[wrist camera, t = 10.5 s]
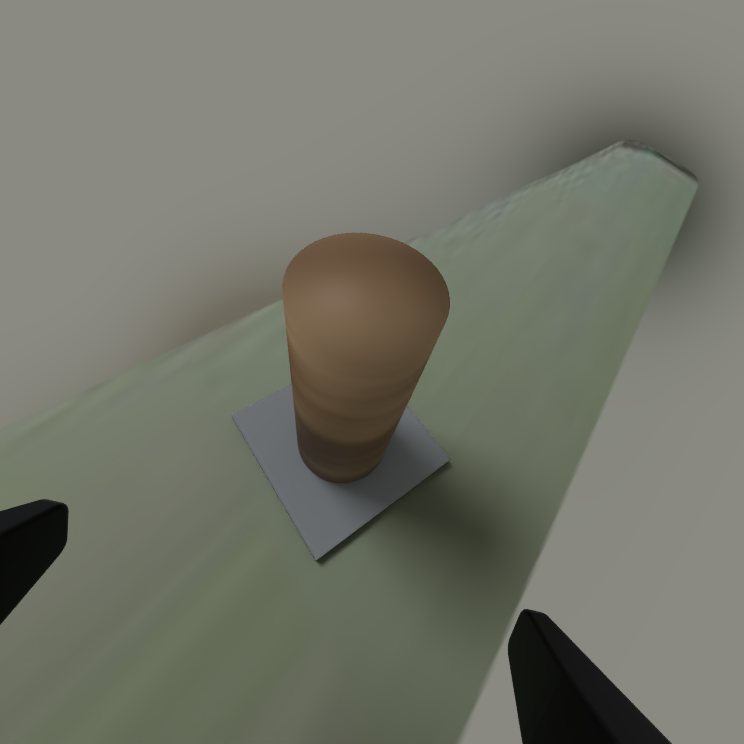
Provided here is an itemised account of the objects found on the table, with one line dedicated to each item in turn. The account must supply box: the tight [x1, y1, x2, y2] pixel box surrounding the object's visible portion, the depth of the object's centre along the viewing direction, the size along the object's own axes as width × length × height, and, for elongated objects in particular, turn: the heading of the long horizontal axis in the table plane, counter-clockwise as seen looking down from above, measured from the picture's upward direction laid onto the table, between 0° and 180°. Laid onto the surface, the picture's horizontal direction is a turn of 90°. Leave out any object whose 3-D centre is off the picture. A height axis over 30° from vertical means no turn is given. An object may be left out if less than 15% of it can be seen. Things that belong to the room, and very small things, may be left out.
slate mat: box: [231, 384, 450, 561], centre depth 22 cm, size 9×9×1 cm
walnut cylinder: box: [282, 233, 450, 483], centre depth 16 cm, size 5×5×12 cm
